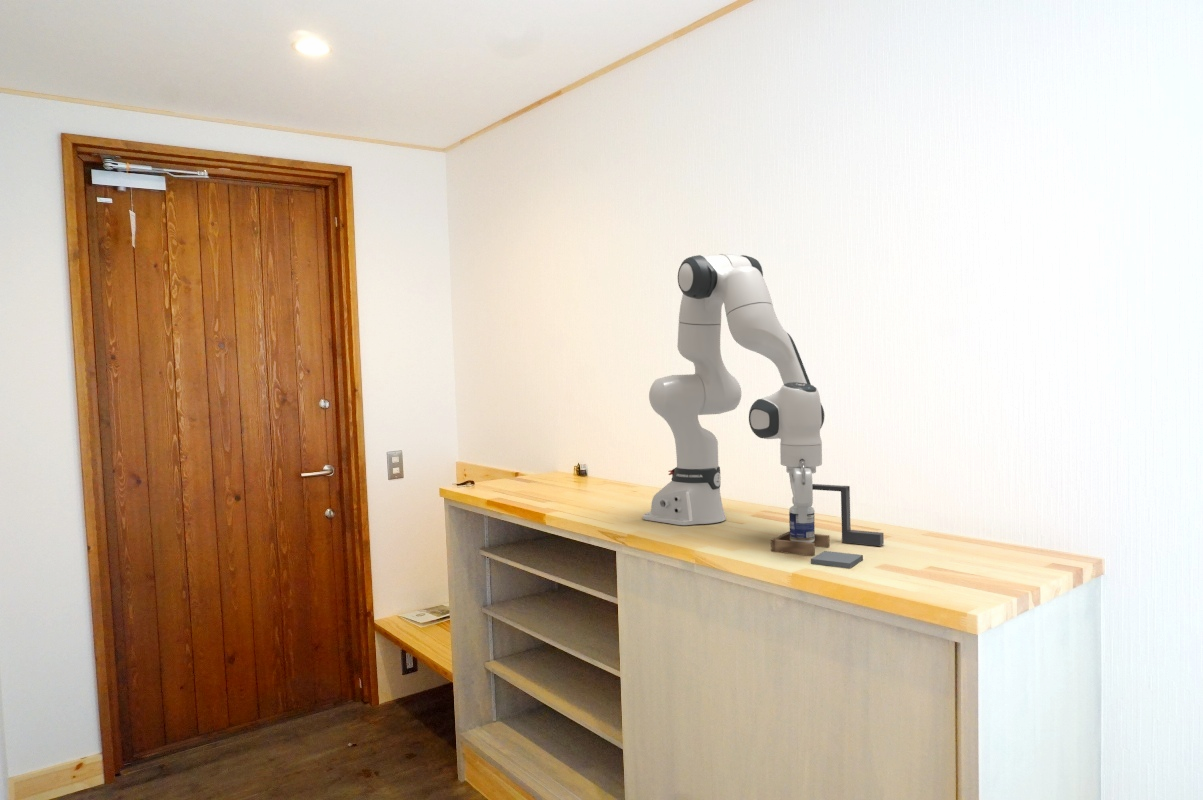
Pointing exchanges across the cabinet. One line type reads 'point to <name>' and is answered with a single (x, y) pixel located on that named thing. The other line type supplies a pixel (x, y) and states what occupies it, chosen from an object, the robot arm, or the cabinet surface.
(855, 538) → the gate
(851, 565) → the mat
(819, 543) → the cradle
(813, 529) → the pill bottle
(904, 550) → the cabinet surface
